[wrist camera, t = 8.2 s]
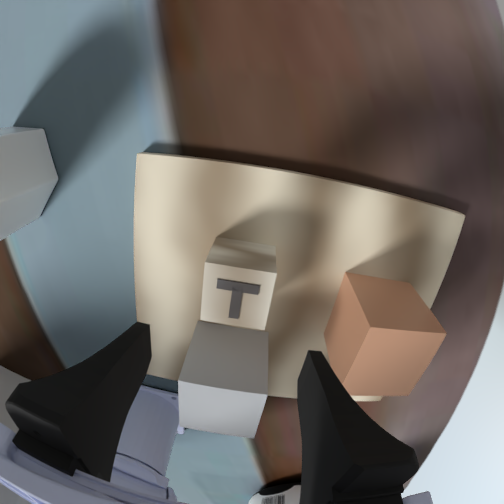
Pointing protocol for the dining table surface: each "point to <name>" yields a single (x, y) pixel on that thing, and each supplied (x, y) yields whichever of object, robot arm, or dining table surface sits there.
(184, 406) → the grey cover
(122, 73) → the dining table surface
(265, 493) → the milk container
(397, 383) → the terracotta cover
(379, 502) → the robot arm
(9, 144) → the jar
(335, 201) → the birch board
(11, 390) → the white triangular prism
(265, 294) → the letter cube
